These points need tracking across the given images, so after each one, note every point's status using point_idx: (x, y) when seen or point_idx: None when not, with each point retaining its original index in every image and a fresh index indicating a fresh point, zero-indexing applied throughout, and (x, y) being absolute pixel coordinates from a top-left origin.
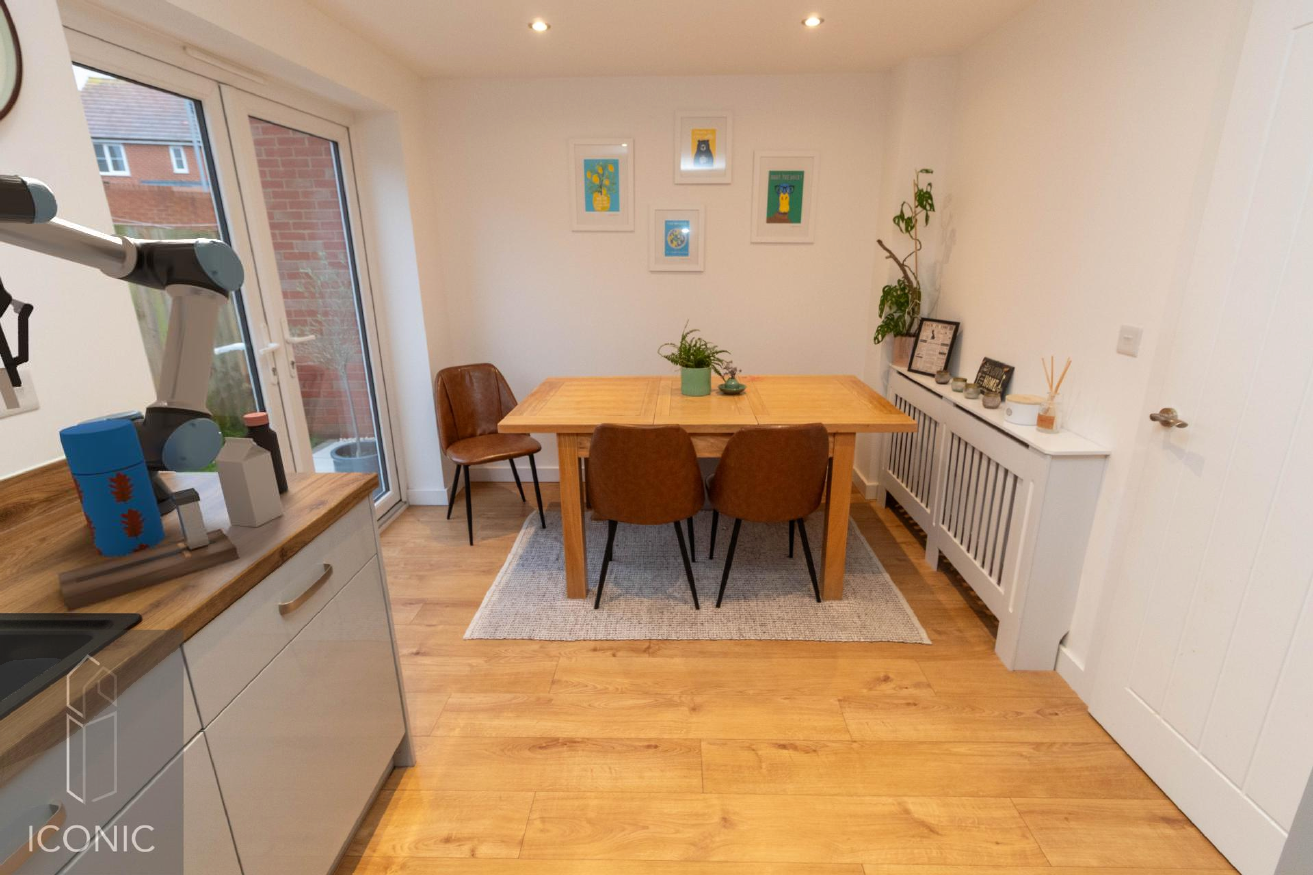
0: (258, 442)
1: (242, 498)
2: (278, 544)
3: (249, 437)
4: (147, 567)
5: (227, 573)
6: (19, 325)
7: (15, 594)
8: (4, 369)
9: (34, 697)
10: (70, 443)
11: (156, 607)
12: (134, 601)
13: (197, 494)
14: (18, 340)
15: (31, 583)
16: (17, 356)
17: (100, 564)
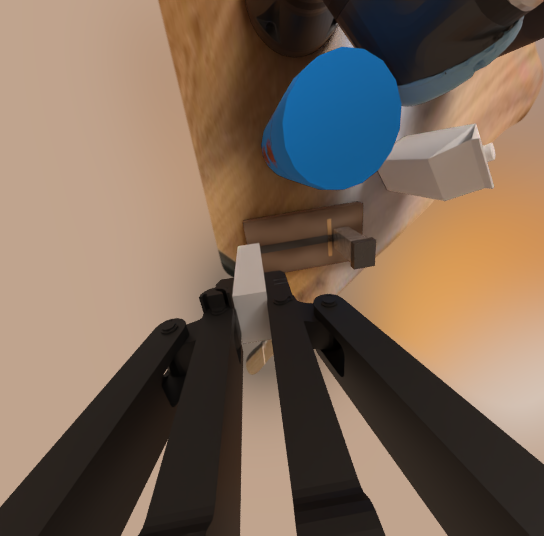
0: (520, 41)
1: (403, 185)
2: (386, 246)
3: (526, 21)
4: (303, 257)
5: (344, 277)
6: (448, 524)
7: (211, 212)
8: (269, 337)
9: (251, 357)
10: (294, 174)
11: (300, 300)
12: (289, 283)
13: (373, 265)
14: (367, 419)
15: (218, 194)
16: (318, 338)
17: (271, 225)
